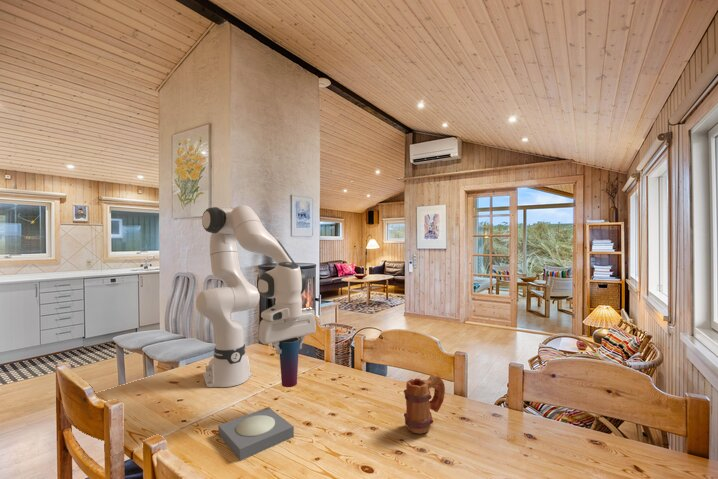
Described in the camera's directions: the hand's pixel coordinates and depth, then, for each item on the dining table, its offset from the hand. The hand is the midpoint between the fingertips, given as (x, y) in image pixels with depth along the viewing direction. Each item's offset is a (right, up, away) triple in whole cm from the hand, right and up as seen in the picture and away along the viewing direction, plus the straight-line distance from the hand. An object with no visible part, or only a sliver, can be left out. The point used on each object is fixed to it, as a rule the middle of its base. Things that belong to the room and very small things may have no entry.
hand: (288, 351), depth 115 cm
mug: (+44, -19, -11) cm, 49 cm away
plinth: (-7, -20, -15) cm, 26 cm away
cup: (0, -11, 0) cm, 11 cm away
